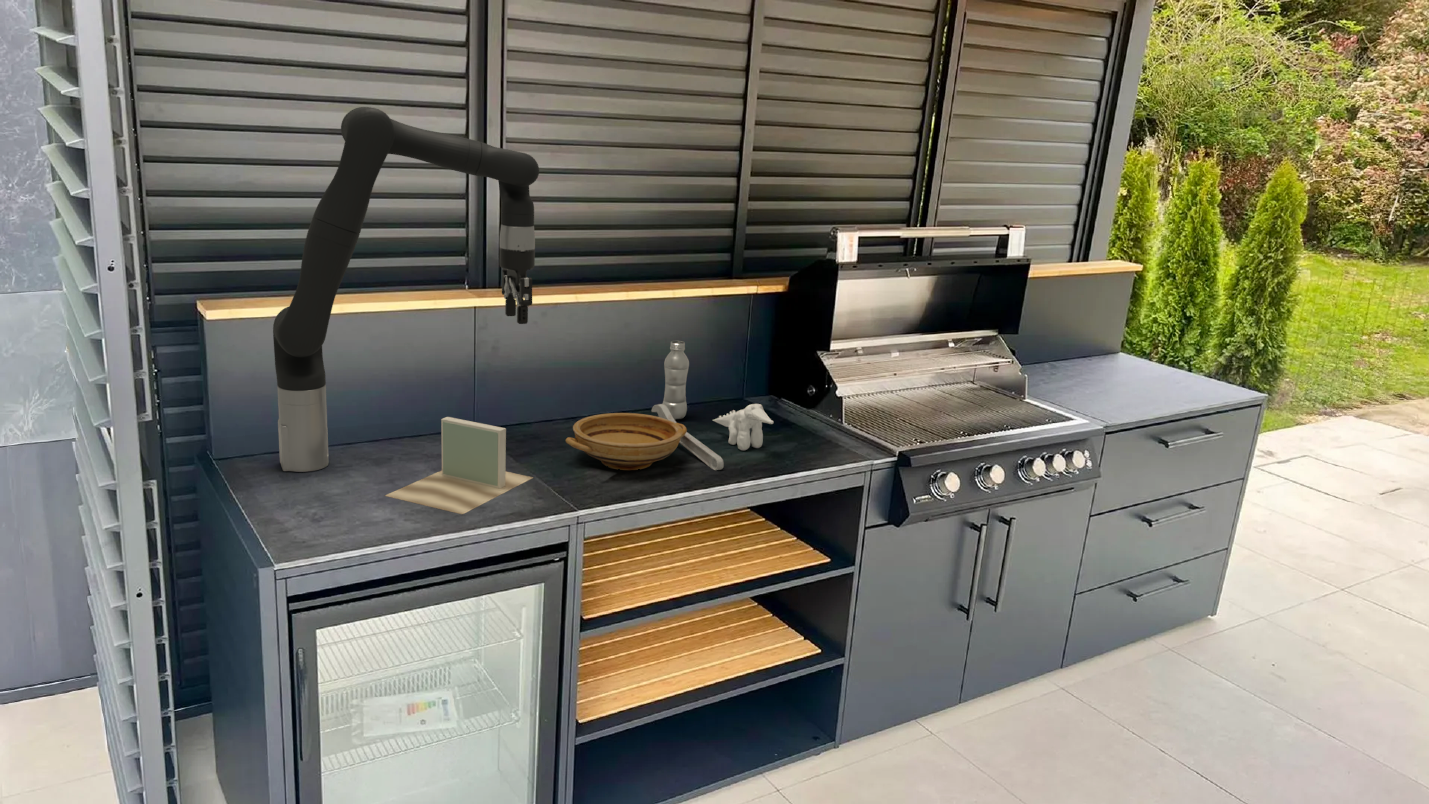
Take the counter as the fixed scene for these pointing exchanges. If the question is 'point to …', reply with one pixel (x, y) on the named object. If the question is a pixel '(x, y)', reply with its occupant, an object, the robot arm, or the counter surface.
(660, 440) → the ceramic bowl
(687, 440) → the wrench
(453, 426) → the tile
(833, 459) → the counter surface
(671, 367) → the plastic bottle
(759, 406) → the toy dinosaur
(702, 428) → the counter surface
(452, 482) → the board
